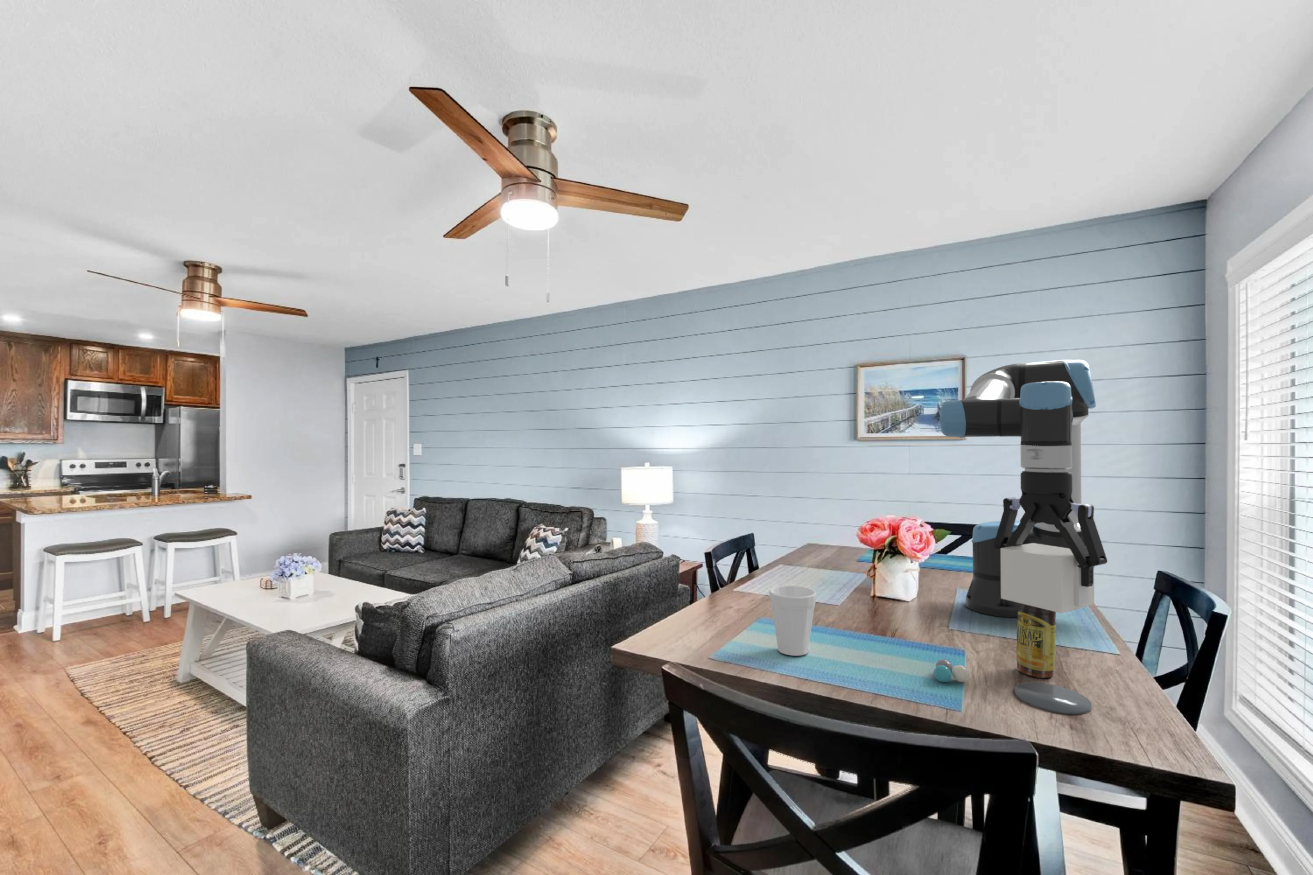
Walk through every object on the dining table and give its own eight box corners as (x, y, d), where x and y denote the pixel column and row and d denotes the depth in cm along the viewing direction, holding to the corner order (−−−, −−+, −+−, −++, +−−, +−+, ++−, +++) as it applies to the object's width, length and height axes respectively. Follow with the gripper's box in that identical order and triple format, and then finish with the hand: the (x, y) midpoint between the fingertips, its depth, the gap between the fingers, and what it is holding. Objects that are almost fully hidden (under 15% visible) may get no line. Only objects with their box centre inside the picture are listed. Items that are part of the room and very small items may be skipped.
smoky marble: (942, 670, 113) (942, 655, 113) (956, 676, 111) (956, 660, 111) (932, 674, 112) (932, 658, 112) (946, 679, 109) (946, 663, 109)
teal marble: (940, 676, 110) (940, 661, 110) (955, 682, 108) (955, 666, 108) (930, 680, 109) (930, 664, 109) (944, 686, 106) (944, 669, 106)
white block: (1033, 591, 108) (1033, 542, 108) (1094, 604, 99) (1093, 552, 99) (1000, 598, 103) (1000, 548, 103) (1061, 613, 94) (1061, 558, 94)
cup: (759, 648, 126) (759, 588, 126) (795, 640, 131) (794, 583, 131) (790, 664, 117) (789, 599, 117) (827, 655, 122) (826, 593, 122)
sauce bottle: (1008, 669, 114) (1008, 568, 114) (1031, 664, 116) (1030, 566, 116) (1041, 682, 108) (1040, 576, 108) (1064, 677, 110) (1063, 573, 110)
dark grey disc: (1036, 681, 108) (1036, 677, 108) (1104, 704, 99) (1104, 701, 99) (1001, 693, 103) (1001, 690, 103) (1069, 720, 93) (1069, 716, 93)
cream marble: (958, 677, 110) (957, 661, 110) (973, 682, 108) (972, 666, 108) (947, 680, 109) (947, 664, 109) (962, 686, 106) (962, 669, 106)
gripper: (971, 468, 109) (972, 585, 109) (1109, 474, 89) (1110, 617, 89) (995, 467, 113) (996, 580, 113) (1133, 472, 93) (1134, 610, 93)
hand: (1046, 597), depth 101 cm, fingers closed on white block, 10 cm apart
